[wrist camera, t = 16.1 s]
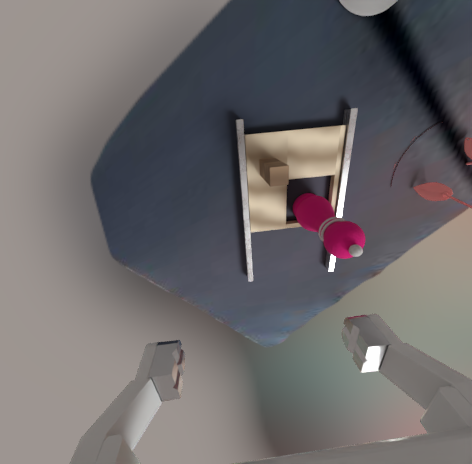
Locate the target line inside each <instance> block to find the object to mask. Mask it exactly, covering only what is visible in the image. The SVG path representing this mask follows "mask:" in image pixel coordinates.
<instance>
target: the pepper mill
mask: <svg viewBox="0 0 472 464" xmlns="http://www.w3.org/2000/svg"><path fill="white" fill-rule="evenodd" d="M293 213H294V215H295V216H296V218H297V221H298V223H299V224H300V225H301V226H302V227H303V228H305V229H307V230H310V231H315V232H318V233H319V237H320V239H321V240H322V241H323V242H324V246H325V248H326V250H327V251H328V252H329V253H330V254H331V255H333V256H335V257H337V258H351V257H353V256H354V257H358V256H360V255H361V254H362V252H363V250H362V249H363V247H364V244H365V235H364V232H363V230H362V229H361V228H360V227H359V226H358V225H357V224H355V223H352V222H349V221H345V220H344V219H343V218H340V217H335V214H334V210H333V207H332V205H331V204H330V202H329V201H327V200H326V199H325V198H323V197H320V196H316V195H315V194H312V193H305V194H302V195H300V196H299V197H298V198H297V199H296V200H295V202H294V204H293Z"/></svg>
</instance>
